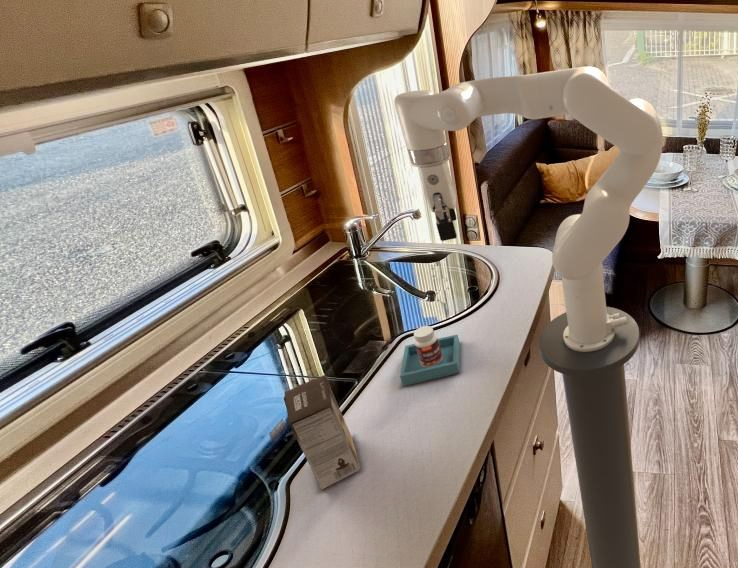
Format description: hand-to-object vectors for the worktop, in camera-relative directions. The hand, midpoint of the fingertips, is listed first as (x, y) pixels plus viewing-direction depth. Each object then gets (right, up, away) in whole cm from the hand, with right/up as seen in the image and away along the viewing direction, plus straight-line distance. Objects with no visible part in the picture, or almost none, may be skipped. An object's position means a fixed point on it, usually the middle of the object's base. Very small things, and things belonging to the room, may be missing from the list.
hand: (449, 229), depth 108 cm
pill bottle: (-6, -30, +5) cm, 31 cm away
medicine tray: (-6, -31, +5) cm, 31 cm away
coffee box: (-13, -42, -18) cm, 48 cm away
